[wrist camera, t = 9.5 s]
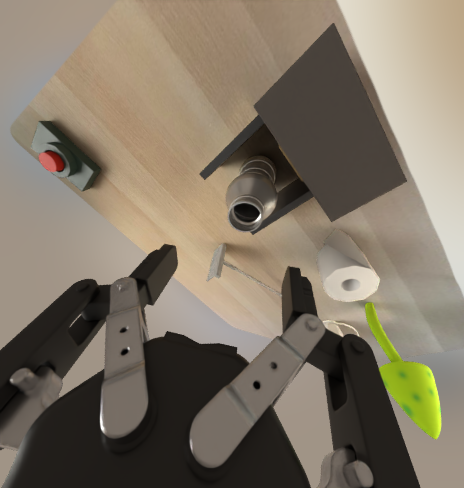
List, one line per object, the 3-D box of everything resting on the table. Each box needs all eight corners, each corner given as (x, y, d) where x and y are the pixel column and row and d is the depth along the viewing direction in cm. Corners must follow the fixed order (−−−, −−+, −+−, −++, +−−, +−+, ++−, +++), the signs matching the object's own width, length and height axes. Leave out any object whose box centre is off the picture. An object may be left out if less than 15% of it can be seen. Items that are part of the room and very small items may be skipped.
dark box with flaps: (258, 215, 41) (248, 266, 27) (213, 160, 37) (174, 188, 23) (349, 152, 32) (407, 181, 18) (304, 69, 28) (333, 21, 14)
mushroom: (372, 319, 52) (436, 452, 31) (343, 308, 51) (388, 435, 31) (397, 300, 47) (491, 444, 26) (365, 289, 47) (435, 424, 26)
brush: (287, 293, 59) (290, 324, 52) (214, 250, 49) (206, 281, 42) (297, 289, 57) (301, 320, 50) (222, 242, 47) (215, 274, 40)
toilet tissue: (335, 219, 39) (349, 243, 32) (370, 260, 42) (389, 289, 35) (297, 243, 43) (302, 268, 36) (331, 278, 47) (341, 307, 40)
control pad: (41, 145, 42) (21, 148, 39) (49, 120, 39) (28, 121, 35) (89, 188, 46) (75, 194, 42) (101, 169, 42) (86, 173, 39)
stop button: (45, 159, 40) (36, 161, 38) (50, 147, 38) (41, 148, 36) (61, 173, 41) (53, 175, 39) (66, 162, 39) (59, 163, 37)
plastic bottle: (238, 157, 36) (206, 192, 19) (275, 149, 34) (274, 181, 18) (244, 190, 39) (221, 245, 23) (278, 185, 37) (280, 241, 21)
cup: (312, 319, 56) (317, 346, 50) (350, 312, 52) (360, 341, 45) (320, 333, 59) (326, 360, 52) (356, 328, 55) (367, 357, 48)
